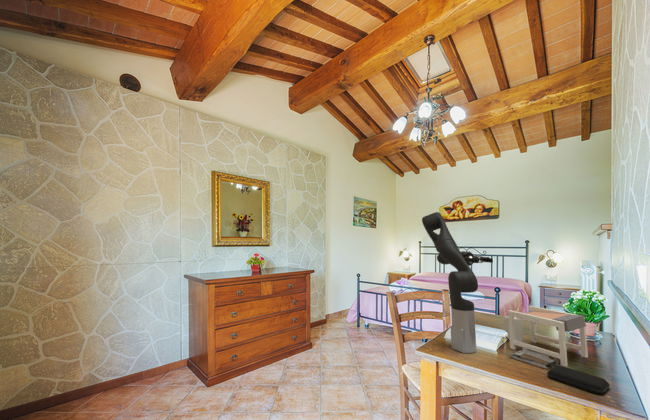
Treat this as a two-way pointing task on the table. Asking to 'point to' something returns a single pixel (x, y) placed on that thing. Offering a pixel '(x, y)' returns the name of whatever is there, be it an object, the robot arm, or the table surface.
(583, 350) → the trapdoor stand
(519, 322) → the plain beige rectangular block
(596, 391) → the carrying case or bag
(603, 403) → the table surface
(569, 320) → the trapdoor
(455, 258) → the robot arm
